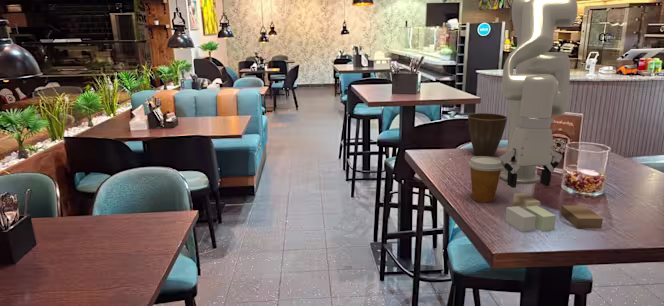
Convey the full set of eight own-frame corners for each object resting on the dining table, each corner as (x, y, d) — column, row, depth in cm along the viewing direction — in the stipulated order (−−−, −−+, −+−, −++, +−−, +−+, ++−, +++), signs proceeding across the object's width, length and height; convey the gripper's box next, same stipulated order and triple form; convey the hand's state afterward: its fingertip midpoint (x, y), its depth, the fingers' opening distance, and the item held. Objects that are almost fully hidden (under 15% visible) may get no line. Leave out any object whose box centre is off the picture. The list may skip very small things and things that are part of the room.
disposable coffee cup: (499, 195, 136) (503, 157, 133) (500, 205, 127) (503, 165, 124) (467, 191, 139) (469, 154, 136) (465, 202, 130) (468, 163, 127)
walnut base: (560, 215, 121) (561, 205, 120) (582, 215, 121) (584, 205, 120) (576, 229, 112) (578, 218, 111) (601, 229, 112) (602, 218, 111)
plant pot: (509, 154, 183) (513, 115, 179) (495, 161, 172) (498, 121, 168) (474, 148, 192) (477, 112, 188) (459, 155, 182) (461, 116, 178)
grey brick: (505, 221, 117) (506, 207, 116) (516, 220, 118) (518, 206, 117) (522, 232, 110) (523, 217, 109) (534, 230, 111) (536, 216, 110)
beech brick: (512, 207, 127) (513, 193, 126) (523, 206, 127) (525, 193, 126) (526, 216, 120) (528, 202, 119) (538, 215, 120) (540, 201, 119)
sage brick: (523, 221, 117) (525, 206, 116) (535, 219, 118) (537, 205, 117) (542, 231, 110) (543, 216, 109) (554, 230, 111) (556, 215, 110)
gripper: (555, 120, 122) (549, 180, 126) (496, 122, 120) (491, 183, 123) (574, 125, 115) (566, 188, 118) (511, 126, 112) (505, 191, 116)
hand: (528, 185), depth 121 cm, fingers open, 9 cm apart
